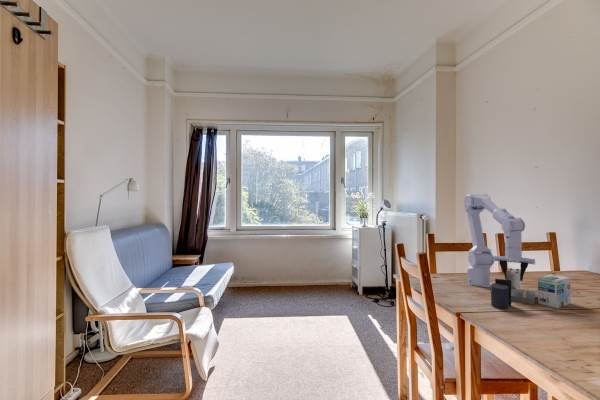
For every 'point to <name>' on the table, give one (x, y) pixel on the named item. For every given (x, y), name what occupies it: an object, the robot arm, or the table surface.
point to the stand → (523, 296)
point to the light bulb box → (554, 290)
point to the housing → (514, 277)
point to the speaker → (501, 293)
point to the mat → (531, 290)
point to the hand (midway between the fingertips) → (513, 279)
